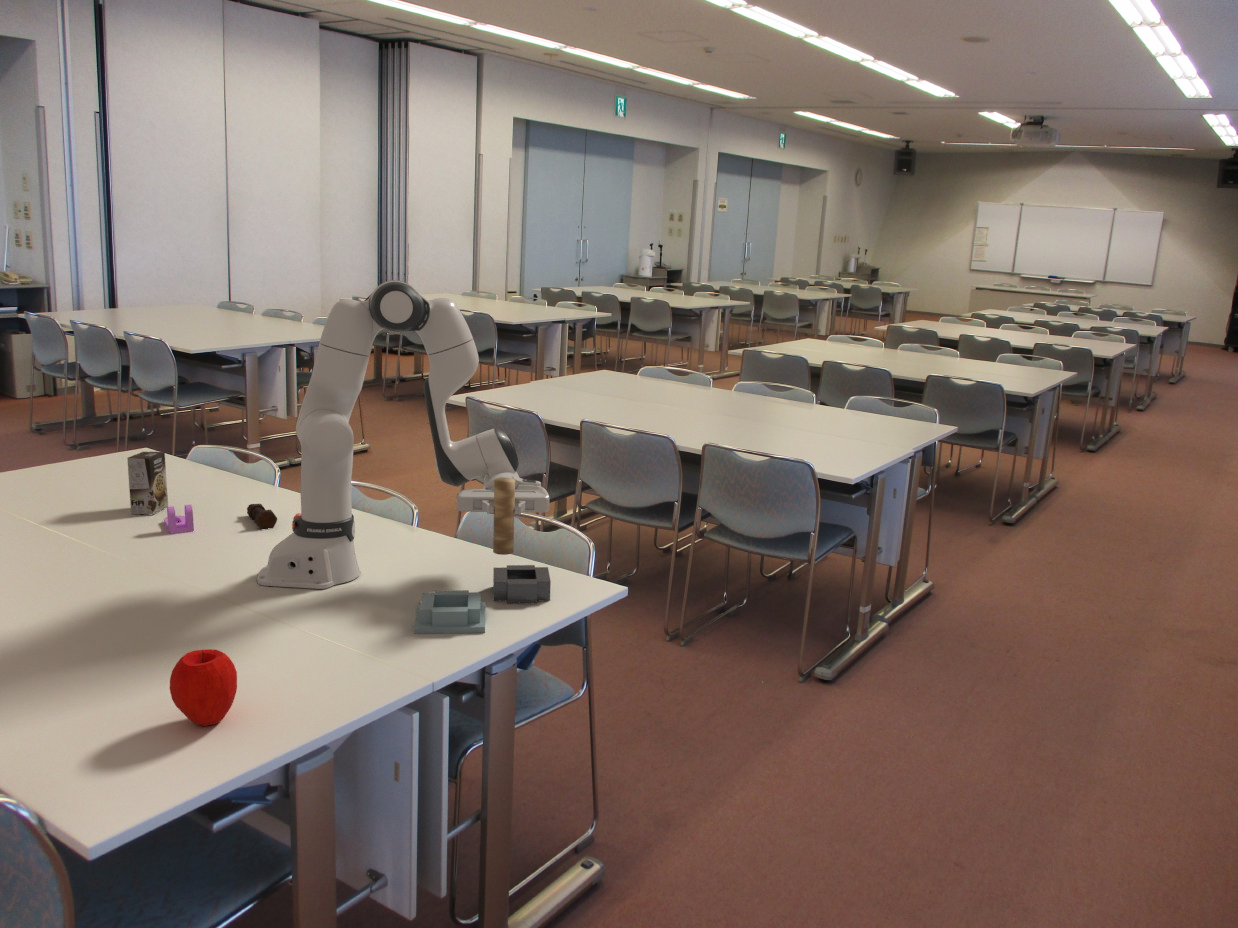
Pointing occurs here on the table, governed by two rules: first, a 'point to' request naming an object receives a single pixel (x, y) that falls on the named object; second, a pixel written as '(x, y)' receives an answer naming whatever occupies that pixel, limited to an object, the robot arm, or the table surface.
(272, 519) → the bolt
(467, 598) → the teal cradle
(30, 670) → the table surface
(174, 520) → the bracket
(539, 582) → the steel bore block
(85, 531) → the table surface
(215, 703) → the apple
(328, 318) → the robot arm
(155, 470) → the cookie box
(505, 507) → the oak axle
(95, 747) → the table surface
